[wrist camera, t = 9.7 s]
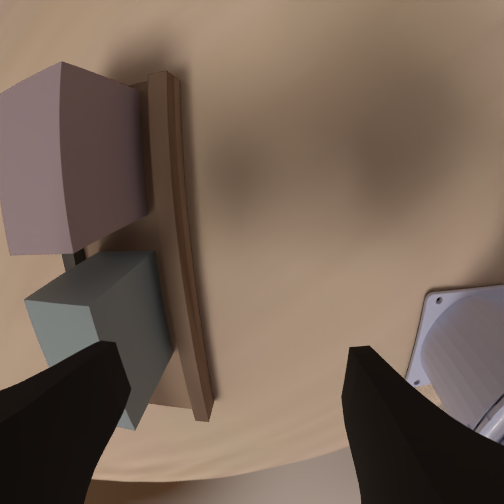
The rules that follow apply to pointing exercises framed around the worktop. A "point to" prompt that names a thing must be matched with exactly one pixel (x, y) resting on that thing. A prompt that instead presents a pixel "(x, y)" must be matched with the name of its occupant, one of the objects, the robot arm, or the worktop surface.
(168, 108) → the shelf ledge
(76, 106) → the box
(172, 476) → the worktop surface
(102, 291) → the box
